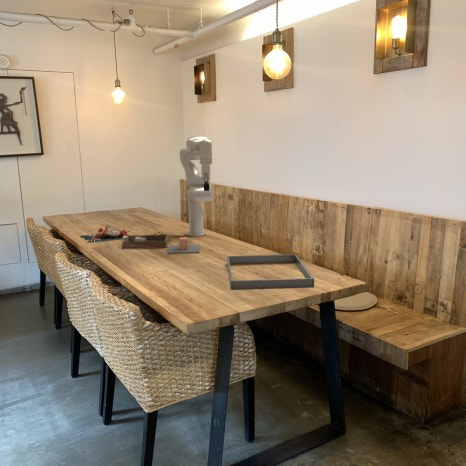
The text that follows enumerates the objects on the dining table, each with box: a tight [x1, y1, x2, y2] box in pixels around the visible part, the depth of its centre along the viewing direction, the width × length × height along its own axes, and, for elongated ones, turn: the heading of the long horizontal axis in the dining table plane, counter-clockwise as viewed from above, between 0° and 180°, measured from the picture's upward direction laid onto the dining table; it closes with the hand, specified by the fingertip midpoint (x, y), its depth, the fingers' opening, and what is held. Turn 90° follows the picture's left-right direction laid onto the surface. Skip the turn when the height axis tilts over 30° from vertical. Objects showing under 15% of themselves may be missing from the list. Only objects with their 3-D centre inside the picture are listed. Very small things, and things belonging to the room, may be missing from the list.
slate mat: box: [166, 244, 201, 255], centre depth 272 cm, size 18×18×1 cm
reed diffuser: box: [134, 231, 166, 242], centre depth 289 cm, size 10×7×20 cm
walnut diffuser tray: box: [121, 234, 170, 250], centre depth 286 cm, size 19×26×4 cm
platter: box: [79, 225, 131, 244], centre depth 311 cm, size 35×27×9 cm
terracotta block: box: [178, 236, 190, 249], centre depth 271 cm, size 5×5×6 cm
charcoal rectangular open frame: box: [226, 253, 315, 291], centre depth 220 cm, size 43×36×4 cm
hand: (206, 189), depth 280 cm, fingers open, 9 cm apart
